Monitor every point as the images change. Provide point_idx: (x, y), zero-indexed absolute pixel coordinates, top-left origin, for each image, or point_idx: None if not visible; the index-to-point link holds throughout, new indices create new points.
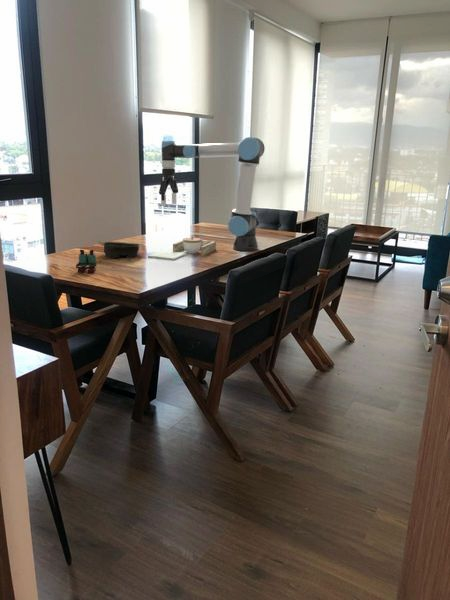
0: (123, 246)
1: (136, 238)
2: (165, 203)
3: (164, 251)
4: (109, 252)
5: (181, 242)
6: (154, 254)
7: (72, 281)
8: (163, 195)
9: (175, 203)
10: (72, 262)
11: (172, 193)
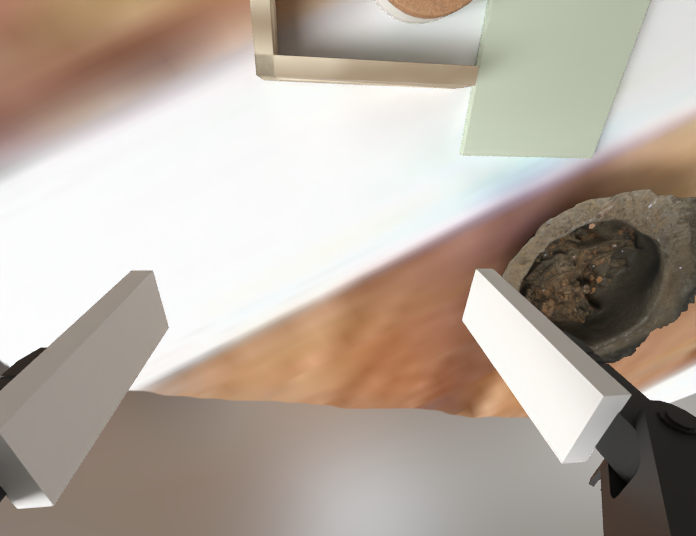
0: (694, 242)
1: (220, 384)
2: (511, 288)
3: (484, 126)
4: (635, 287)
5: (384, 61)
6: (564, 140)
7: None
8: (642, 400)
9: (149, 281)
10: (670, 334)
11: (55, 479)
